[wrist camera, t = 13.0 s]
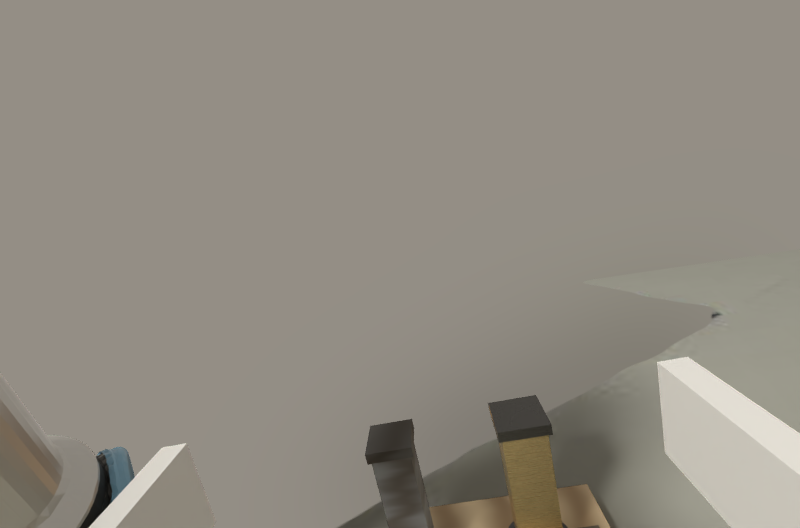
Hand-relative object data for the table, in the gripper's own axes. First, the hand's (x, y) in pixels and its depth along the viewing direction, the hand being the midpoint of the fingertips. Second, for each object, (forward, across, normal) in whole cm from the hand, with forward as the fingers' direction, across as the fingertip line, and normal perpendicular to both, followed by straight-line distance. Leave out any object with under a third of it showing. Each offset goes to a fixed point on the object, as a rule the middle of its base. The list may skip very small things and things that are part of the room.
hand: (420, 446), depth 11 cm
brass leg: (+24, +6, -30) cm, 38 cm away
